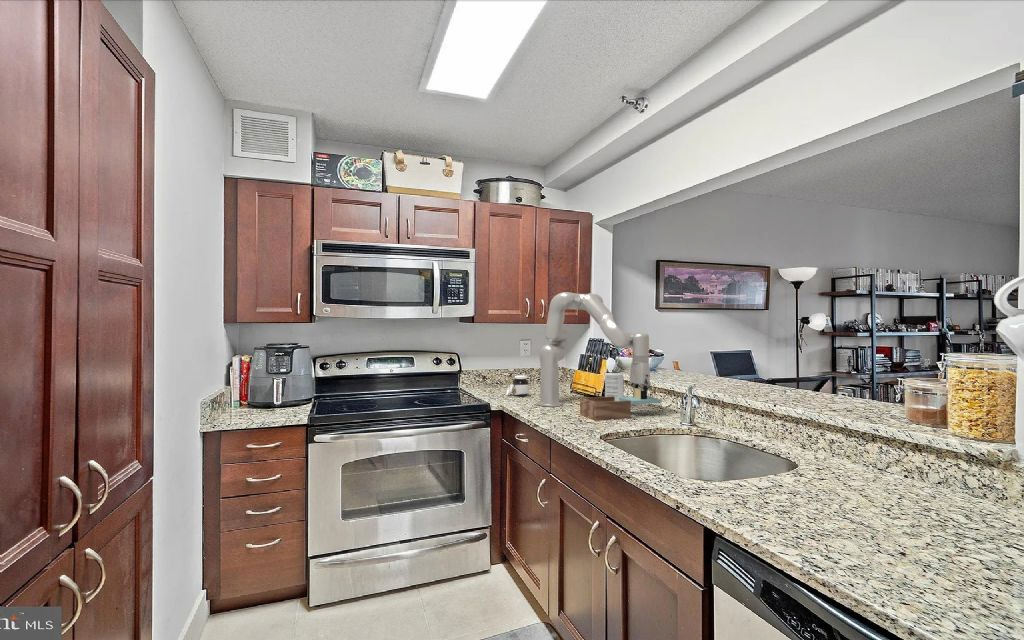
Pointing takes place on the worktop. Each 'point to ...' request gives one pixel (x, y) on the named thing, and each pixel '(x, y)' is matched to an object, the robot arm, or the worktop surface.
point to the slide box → (604, 408)
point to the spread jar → (519, 386)
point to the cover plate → (641, 401)
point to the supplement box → (614, 385)
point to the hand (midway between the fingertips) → (640, 397)
